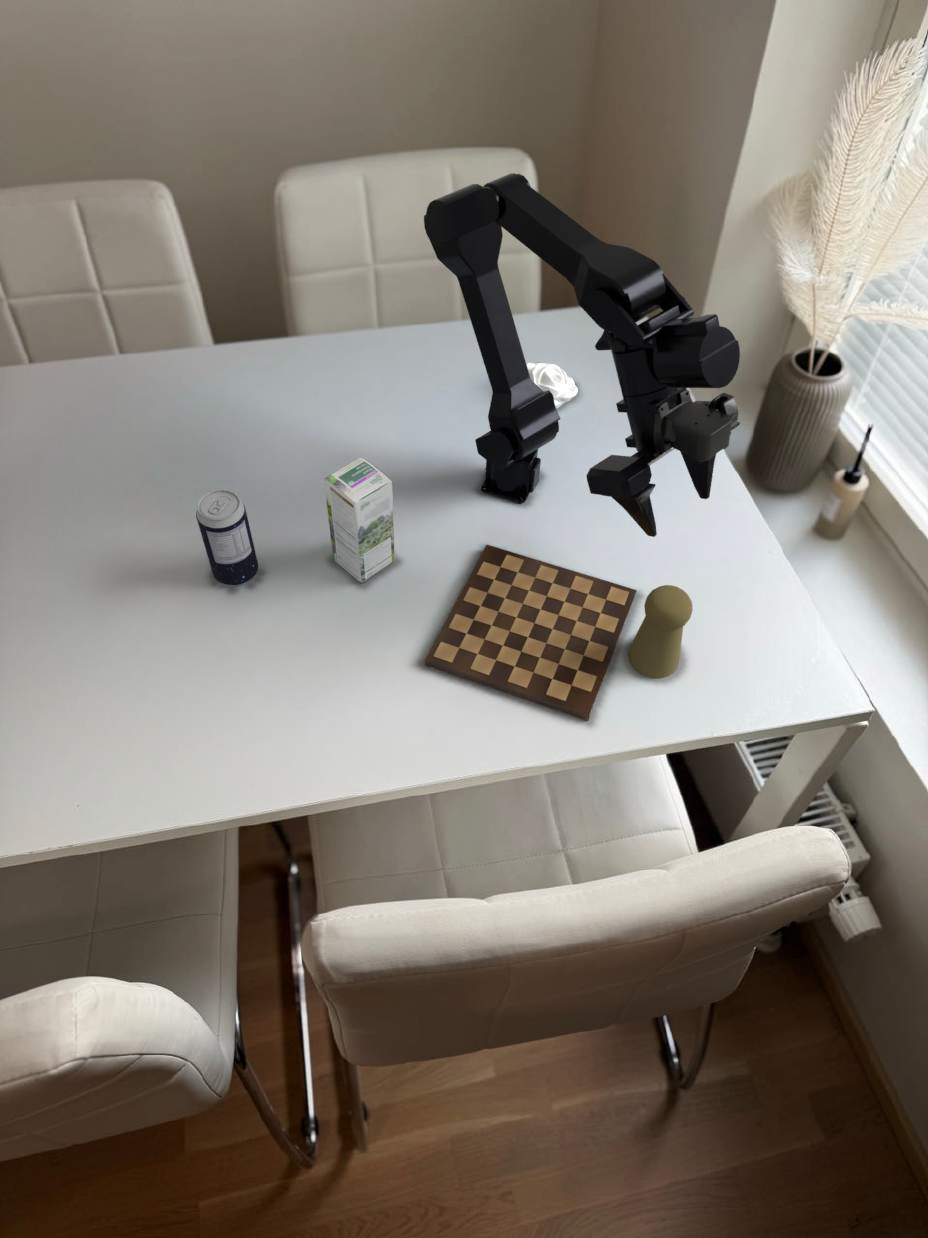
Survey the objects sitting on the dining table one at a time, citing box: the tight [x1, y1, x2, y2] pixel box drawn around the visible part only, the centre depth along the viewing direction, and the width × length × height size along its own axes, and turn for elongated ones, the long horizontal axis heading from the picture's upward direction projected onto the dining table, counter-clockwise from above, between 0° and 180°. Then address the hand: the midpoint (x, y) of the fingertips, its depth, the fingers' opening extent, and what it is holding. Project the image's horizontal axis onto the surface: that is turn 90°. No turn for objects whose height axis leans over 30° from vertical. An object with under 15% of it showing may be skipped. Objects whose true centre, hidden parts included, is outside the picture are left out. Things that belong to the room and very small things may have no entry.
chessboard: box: [424, 544, 638, 722], centre depth 111 cm, size 20×20×1 cm
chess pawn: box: [627, 584, 693, 679], centre depth 105 cm, size 6×6×11 cm
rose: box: [526, 362, 579, 410], centre depth 138 cm, size 10×4×10 cm
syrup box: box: [323, 456, 396, 584], centre depth 112 cm, size 6×6×14 cm
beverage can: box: [195, 489, 259, 587], centre depth 111 cm, size 6×6×12 cm
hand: (679, 516), depth 104 cm, fingers open, 9 cm apart
